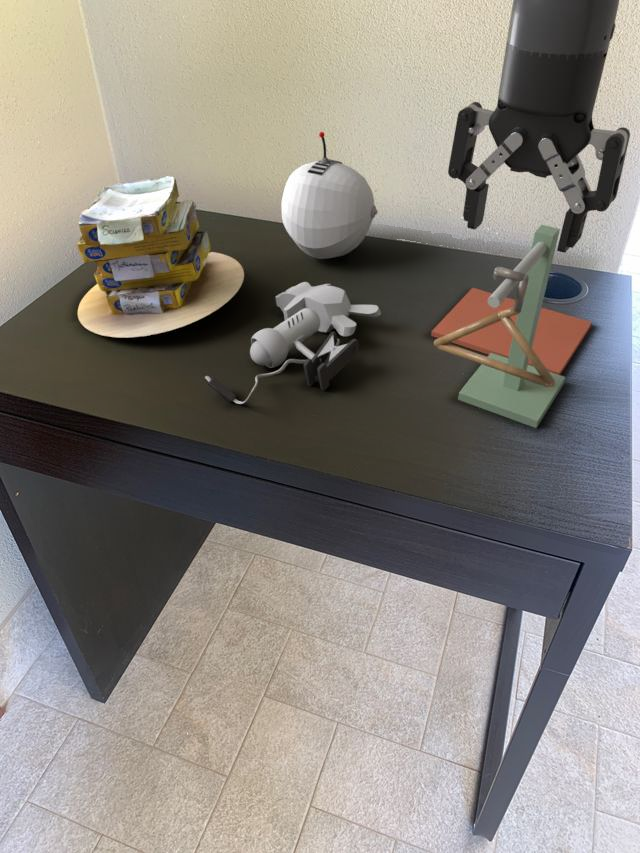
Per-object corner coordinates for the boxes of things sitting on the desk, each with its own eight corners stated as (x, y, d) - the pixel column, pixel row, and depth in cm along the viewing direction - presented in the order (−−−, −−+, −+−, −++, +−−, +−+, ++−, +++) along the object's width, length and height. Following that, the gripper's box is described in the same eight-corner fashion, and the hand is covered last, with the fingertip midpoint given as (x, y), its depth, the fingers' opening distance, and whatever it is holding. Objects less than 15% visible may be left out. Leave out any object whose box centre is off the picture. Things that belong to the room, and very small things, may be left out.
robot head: (392, 247, 115) (400, 123, 102) (352, 285, 106) (355, 153, 92) (308, 226, 121) (306, 107, 108) (264, 260, 112) (255, 134, 99)
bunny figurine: (304, 268, 101) (386, 290, 93) (308, 300, 104) (387, 324, 96) (260, 294, 96) (342, 319, 88) (265, 326, 99) (345, 354, 91)
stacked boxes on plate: (45, 335, 96) (8, 222, 85) (126, 254, 114) (104, 152, 103) (209, 359, 91) (193, 243, 80) (266, 271, 109) (260, 166, 98)
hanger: (555, 386, 70) (584, 289, 62) (552, 391, 69) (581, 293, 62) (435, 344, 75) (448, 250, 68) (431, 348, 75) (445, 253, 67)
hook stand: (563, 384, 86) (609, 223, 72) (507, 474, 74) (549, 303, 60) (489, 359, 90) (518, 202, 76) (424, 441, 79) (445, 273, 64)
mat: (590, 326, 96) (592, 322, 96) (558, 377, 87) (559, 372, 87) (471, 292, 104) (472, 287, 103) (431, 335, 95) (431, 331, 94)
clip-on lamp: (256, 444, 83) (365, 363, 88) (245, 412, 78) (362, 328, 83) (202, 391, 89) (308, 318, 94) (189, 358, 84) (302, 283, 89)
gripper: (451, 36, 52) (429, 234, 63) (643, 61, 47) (583, 274, 57) (488, 18, 57) (463, 205, 68) (667, 39, 51) (608, 240, 62)
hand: (518, 237), depth 62 cm, fingers open, 8 cm apart
